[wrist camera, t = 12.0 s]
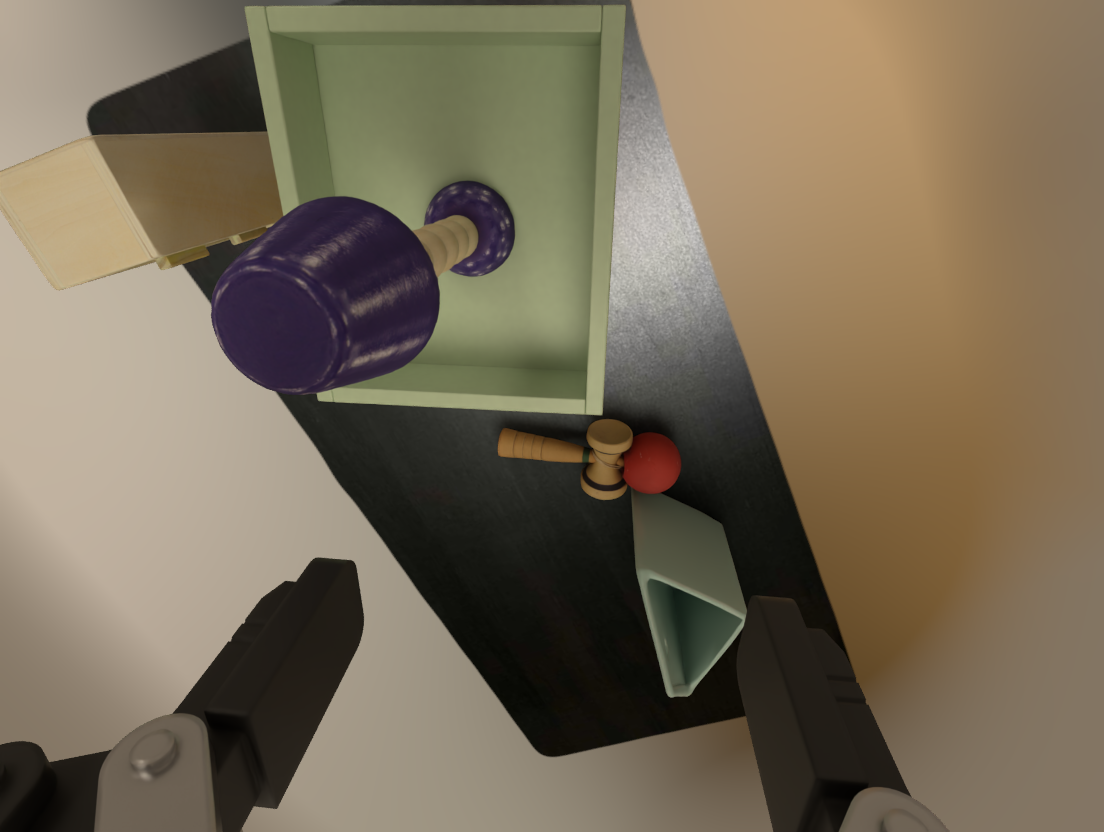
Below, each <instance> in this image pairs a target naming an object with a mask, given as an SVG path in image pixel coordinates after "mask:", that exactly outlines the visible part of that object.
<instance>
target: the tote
mask: <svg viewBox="0 0 1104 832" xmlns="http://www.w3.org/2000/svg"><path fill="white" fill-rule="evenodd" d="M245 14H246V20H247V25H248V30H249V36H250V41H251V46H252V51H253V57H254V62H255V67H256V73H257V78H258V83H259V89H260V94H261V99H262V105H263V110H264V115H265V121H266V126H267V131H268V137H269V142H270V147H271V153H272V158H273V163H274V168H275V174H276V179H277V184H278V190H279V195H280V200H281V206H282V211H283V216H284V215H286V214H287V213H289V212H290V211H291V210H293V209H294V208H296V207H297V206H299V205H302V204H304V203H306V202H309V201H312V200H315V199H319V198H324V197H332V196H348V197H354V198H358V199H362V200H365V201H368V202H371V203H374V204H376V205H378V206H379V207H382V208H384V209H385V210H387V211H389V212H391V213H392V214H394V215H395V216H396V217H398V218H399V219H400V220H401V221H402V222H403V223H404V224H405V225H407V226H408V227H409V228H410V229H411V230H416V229H420V228H421V227H423V226H424V220H425V214H426V211H427V208H428V206H429V204H430V202H431V200H432V199H433V197H434V196H435V195H436V194H437V193H438V192H439V191H440V190H441V189H442V188H444V187H446V186H448V185H450V184H452V183H455V182H458V181H467V180H468V181H476V182H479V183H482V184H485V185H487V186H489V187H490V188H492V189H494V190H495V191H496V192H497V193H498V194H499V195H500V196H502V197H503V198H504V200H505V202H506V203H507V204H508V206H509V208H510V211H511V213H512V215H513V219H514V227H515V240H514V246H513V248H512V251H511V253H510V255H509V257H508V258H507V260H506V261H505V262H504V263H503V264H502V265H501V266H500V267H499V268H497V269H496V270H494V271H493V272H491V273H489V274H486V275H483V276H476V277H469V276H463V275H459V274H456V273H453V272H451V271H450V270H448V271H446V272H444V273H441V275H440V276H439V277H438V285H439V290H440V308H439V315H438V320H437V323H436V326H435V328H434V332H433V334H432V336H431V338H430V340H429V341H428V343H427V345H426V346H425V347H424V349H423V350H422V351H421V352H420V353H419V354H418V355H417V356H416V357H415V358H414V359H413V360H412V361H411V362H409V363H408V364H407V365H405V366H404V367H402V368H400V369H398V370H395V371H393V372H391V373H388V374H385V375H382V376H379V377H375V378H372V379H369V380H365V381H362V382H358V383H355V384H351V385H346V386H343V387H339V388H335V389H332V390H328V391H324V392H320V393H317V397H318V400H319V401H330V402H333V401H334V402H346V403H366V404H386V405H405V406H425V407H445V408H465V409H485V410H505V411H525V412H545V413H565V414H586V415H602V414H603V397H604V379H605V362H606V344H607V327H608V310H609V292H610V275H611V257H612V240H613V223H614V205H615V188H616V170H617V153H618V135H619V118H620V101H621V83H622V66H623V48H624V31H625V14H626V6H625V5H603V7H602V6H601V5H392V6H267V7H265V6H246V7H245Z"/></svg>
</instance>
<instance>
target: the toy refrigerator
mask: <svg viewBox="0 0 1104 832" xmlns="http://www.w3.org/2000/svg"><path fill="white" fill-rule="evenodd" d="M0 210H1V212H2V213H3V214H4V216H5V218H6V219H7V220H8V222H9V224H10V225H11V227H12V228H13V229H14V231H15V233H16V234H17V236H18V237H19V239H20V240H21V241H22V243H23V244H24V246H25V247H26V249H27V250H28V252H29V253H30V255H31V256H32V258H33V259H34V261H35V262H36V264H37V265H38V267H39V269H40V270H41V272H42V273H43V274H44V276H45V277H46V279H47V280H48V281H49V282H50V284H51V285H52V286H53V287H54V288H55V289H56V290H63V289H66V288H69V287H73V286H76V285H79V284H83V283H86V282H90V281H93V280H96V279H100V278H103V277H106V276H110V275H113V274H116V273H120V272H123V271H126V270H130V269H133V268H136V267H140V266H143V265H147V264H150V263H153V262H156V263H157V264H158V266H159V268H160V269H161V270H165V269H169V268H172V267H175V266H178V265H181V264H184V263H187V262H190V261H193V260H196V259H199V258H203V257H206V256H208V255H209V252H208V250H207V249H206V247H207V246H211V245H214V244H217V243H221V242H224V241H227V240H231V242H232V244H233V245H236V244H239V243H242V242H245V241H248V240H251V239H254V238H257V237H259V236H261V235H262V234H263V233H265V232H266V231H267V228H268V227H271V226H272V225H274V224H275V223H276V222H277V221H278V220H279V219H280V218H281V217H283V211H282V206H281V200H280V195H279V190H278V184H277V179H276V174H275V168H274V163H273V158H272V153H271V147H270V142H269V137H268V132H227V133H177V134H130V135H94V136H88V137H85V138H81V139H78V140H76V141H73V142H71V143H68V144H66V145H63V146H61V147H58V148H56V149H53V150H51V151H49V152H46V153H44V154H42V155H39V156H36V157H34V158H32V159H29V160H27V161H24V162H22V163H19V164H17V165H15V166H12V167H10V168H7V169H4V170H2V171H0Z"/></svg>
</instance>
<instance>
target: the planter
mask: <svg viewBox="0 0 1104 832" xmlns="http://www.w3.org/2000/svg"><path fill="white" fill-rule="evenodd" d="M631 497H632V514H633V531H634V548H635V563H636V572H637V577H638V581H639V585H640V588H641V593H642V597H643V601H644V605H645V609H646V613H647V617H648V621H649V625H650V629H651V633H652V636H653V640H654V644H655V648H656V652H657V656H658V660H659V664H660V668H661V672H662V676H663V680H664V685H665V689H666V692H667V695H668V696H669V697H675V696H689V695H690V694H691V693H692V692H693V690H694V688H695V687H696V686H697V684H698V683H699V682H700V681H701V679H702V678H703V677H704V676H705V675H706V673H707V672H708V671H709V670H710V669H711V667H712V666H713V665H714V664H715V663H716V661H717V660H718V659H719V658H720V657H721V655H722V654H723V653H724V652H725V650H726V649H727V648H728V647H729V646H730V644H731V643H732V642H733V641H734V639H735V638H736V637H737V635H738V634H739V632H740V631H741V629H742V628H743V626H744V622H745V618H746V613H747V610H746V606H745V603H744V599H743V596H742V592H741V588H740V585H739V581H738V578H737V574H736V571H735V567H734V564H733V560H732V557H731V554H730V550H729V547H728V543H727V540H726V536H725V533H724V529H723V525H722V524H721V523H719V522H718V521H716V520H714V519H712V518H711V517H709V516H707V515H706V514H704V513H702V512H700V511H698V510H696V509H694V508H692V507H690V506H688V505H685V504H683V503H681V502H679V501H677V500H674V499H672V498H670V497H668V496H665V495H663V494H661V493H657V494H645V493H641V492H639V491H637V490H635V489H633V488H632V487H631Z"/></svg>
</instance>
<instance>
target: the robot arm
mask: <svg viewBox="0 0 1104 832" xmlns="http://www.w3.org/2000/svg"><path fill="white" fill-rule="evenodd" d="M363 626H364V613H363V607H362V600H361V594H360V588H359V581H358V574H357V568H356V565H355V563H354V562H353V561H352V560H341V559H329V558H315V559H313V560H312V561H311V562H310V563H309V565H308V566H307V567H306V569H305V570H304V572H303V573H302V574H301V576H300V577H299V578H298V580H297V581H296V582H291V581H285V582H283V583H282V584H281V585H279V586H278V587H276V588H275V589H274V590H272V591H271V592H270V593H268V594H267V595H265V596H264V597H263V598H261V600H260V601H259V602H258V604H257V605H256V606H255V608H254V609H253V610H252V611H251V613H250V614H249V615H248V617H247V618H246V620H245V623H244V624H242V625H241V626H240V627H239V628H238V630H237V631H236V632H235V634H234V635H233V636H232V640H231V642H228V643H227V644H226V645H225V647H224V648H223V649H222V651H221V652H220V653H219V654H218V656H217V657H216V658H215V660H214V661H213V662H212V664H211V665H210V666H209V667H208V669H207V670H206V671H205V673H204V674H203V675H202V677H201V678H200V679H199V680H198V682H197V683H196V684H195V686H194V687H193V688H192V690H191V691H190V692H189V694H188V695H187V696H186V698H185V699H184V700H183V701H182V703H181V704H180V705H179V706H178V708H177V709H176V710H175V711H174V712H173V714H170V715H165V716H162V717H159V718H156V719H153V720H151V721H149V722H147V723H145V724H143V725H141V726H139V727H138V728H136V729H135V730H133V731H132V732H131V733H129V734H128V735H127V736H125V737H124V738H123V739H122V740H121V741H120V742H119V743H118V744H117V745H116V746H115V747H114V748H113V749H112V750H109V751H104V752H99V753H95V754H89V755H84V756H79V757H74V758H69V759H64V760H59V761H54V762H49V761H48V759H47V757H46V756H45V754H44V752H43V750H42V749H41V747H39V746H38V745H37V744H34V743H32V742H25V741H19V742H11V743H6V744H2V745H0V832H243V831H242V827H243V825H244V823H245V821H246V819H247V817H248V816H249V814H250V812H251V810H252V808H253V806H256V807H265V808H273V809H277V808H278V806H279V804H280V802H281V800H282V798H283V796H284V794H285V792H286V790H287V788H288V786H289V784H290V782H291V780H292V777H293V776H294V774H295V772H296V770H297V768H298V766H299V764H300V762H301V760H302V758H303V756H304V754H305V752H306V750H307V748H308V746H309V744H310V742H311V740H312V738H313V736H314V734H315V732H316V730H317V728H318V726H319V724H320V722H321V720H322V718H323V716H324V714H325V712H326V710H327V708H328V706H329V704H330V702H331V700H332V698H333V696H334V694H335V692H336V690H337V688H338V686H339V684H340V682H341V680H342V678H343V676H344V674H345V672H346V670H347V668H348V666H349V664H350V662H351V660H352V658H353V656H354V654H355V652H356V650H357V648H358V646H359V643H360V640H361V637H362V633H363ZM737 677H738V684H739V688H740V693H741V697H742V701H743V705H744V709H745V714H746V718H747V722H748V726H749V731H750V735H751V739H752V743H753V747H754V752H755V756H756V760H757V764H758V768H759V773H760V777H761V781H762V785H763V790H764V794H765V798H766V802H767V806H768V810H769V814H770V819H771V823H772V827H773V832H949V830H948V829H947V828H946V827H945V825H944V824H943V823H942V822H941V821H940V820H939V819H938V817H937V816H936V815H935V814H934V813H932V812H931V811H930V810H929V809H928V808H927V807H925V806H924V805H923V804H921V803H920V802H918V801H917V800H915V799H913V798H912V797H911V795H910V793H909V791H908V790H907V788H906V786H905V784H904V781H903V779H902V777H901V775H900V773H899V771H898V768H897V766H896V764H895V762H894V760H893V757H892V755H891V753H890V751H889V749H888V747H887V744H886V742H885V740H884V738H883V736H882V733H881V731H880V729H879V727H878V725H877V723H876V720H875V718H874V716H873V714H872V712H871V710H870V707H869V705H866V699H865V696H864V694H863V692H862V690H861V688H860V686H859V683H856V677H855V675H854V673H853V670H852V668H851V666H850V664H849V662H848V660H847V657H846V655H845V653H844V652H843V650H842V649H841V648H840V647H839V646H838V645H837V644H836V643H835V642H834V641H833V640H832V639H831V638H830V637H829V635H828V634H827V633H826V632H825V631H824V630H823V629H814V628H806V626H805V623H804V621H803V618H802V616H801V613H800V611H799V608H798V606H797V604H796V602H795V601H794V600H793V599H790V598H779V597H767V596H755V595H754V596H752V597H751V599H750V601H749V605H748V609H747V613H746V618H745V622H744V626H743V631H742V635H741V639H740V644H739V648H738V654H737Z"/></svg>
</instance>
